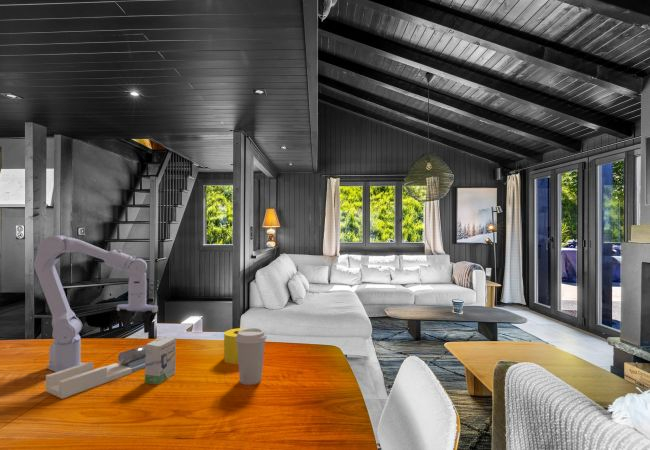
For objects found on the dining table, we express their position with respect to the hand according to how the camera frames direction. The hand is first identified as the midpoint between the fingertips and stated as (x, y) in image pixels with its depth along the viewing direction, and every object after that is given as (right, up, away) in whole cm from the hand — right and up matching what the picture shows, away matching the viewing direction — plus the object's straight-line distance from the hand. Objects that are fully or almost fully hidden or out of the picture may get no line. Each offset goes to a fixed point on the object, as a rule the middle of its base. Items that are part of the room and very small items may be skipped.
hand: (137, 331), depth 128 cm
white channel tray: (-5, -10, -18) cm, 21 cm away
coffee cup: (+44, -11, -16) cm, 48 cm away
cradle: (+2, -10, -6) cm, 12 cm away
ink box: (+15, -10, -15) cm, 24 cm away
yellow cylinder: (+35, -11, +2) cm, 37 cm away
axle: (+3, -6, -6) cm, 9 cm away
